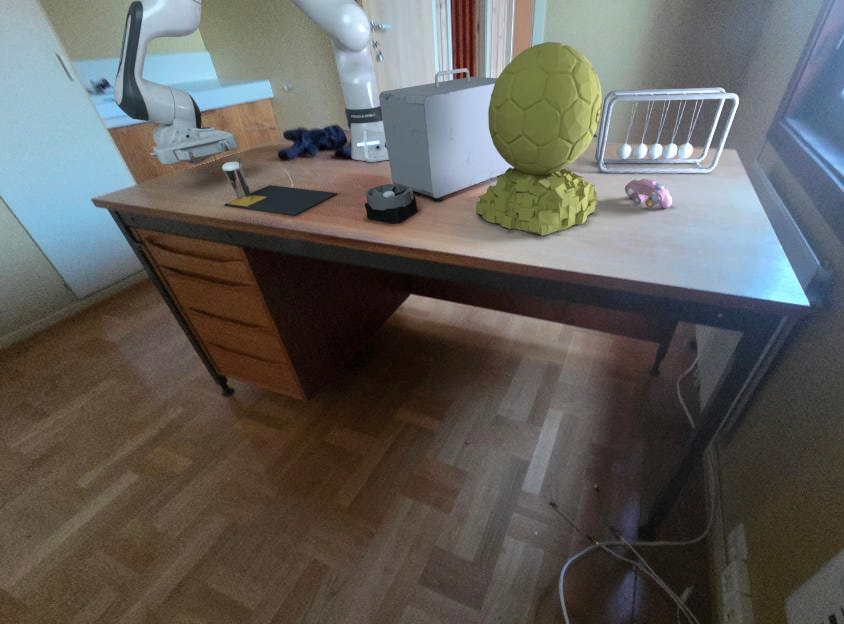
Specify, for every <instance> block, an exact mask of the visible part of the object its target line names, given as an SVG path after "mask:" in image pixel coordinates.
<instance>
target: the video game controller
mask: <svg viewBox="0 0 844 624" xmlns="http://www.w3.org/2000/svg"><path fill="white" fill-rule="evenodd" d="M624 191H625V193H626V194H627V197H628V198H629V199H632V202H633V203H634V204H636V205H641V204H643V202H644V205H645V206H646V207H647V208H649V209H653V208H654V207H655V206H656V205H659V206H660V207H662V208H664V209H669V208H671V206H672V204H673V198H672V196H671V195H670V193H669V190H668V189H667V187H665V185H664V184H662V183H658V182H656V181H655V180H652V179H650V178H642V179H640V178H638V177H635V178H634V179H633V180H631V181H629V182H628V183H626V185H625V186H624ZM645 196H646V197H647V198H646V200H645Z"/></svg>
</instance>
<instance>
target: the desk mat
mask: <svg viewBox="0 0 844 624" xmlns="http://www.w3.org/2000/svg"><path fill="white" fill-rule="evenodd" d="M250 194H251V197H252V199H251V200H250V201H246V202H240V201H239V200H238V199H237V198H236V199H233V200H231V201H229V202H226V203H224V207H231V208H239V209H245V210H251V211H258V212H265V213H273V214H279V215H286V216H292V217H296V216H299V215H300V214H302V213H305V212H306V211H309V210H310V209H313V208H314V207H316V206H318V205H320V204H322V203H323V202H325V201H327V200H329V199H331V198H333V197H335V196H337V195H338V193H337V192H333V191H323V190H316V189H315V190H313V189H307V188H299V187H297V188H296V187H289V186H281V185H273V184H270V185H267V186H265V187H262V188H260V189H257V190H255V191H253V192H250Z"/></svg>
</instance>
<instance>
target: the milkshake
mask: <svg viewBox="0 0 844 624" xmlns="http://www.w3.org/2000/svg"><path fill="white" fill-rule="evenodd" d="M221 169H222V171H223V173H224V175H225V177H226V178H227V181H228V183H229V184H230V186H231V189H232V190H233V193H234V194H235V196H236V199H238V200H239V201H240V202H246V201H250V200H251V199H252V197H251V194H250V193H251V190H250V188H249V185H248V181H247V179H246V175H245V172H244V169H243V165H242V164H241V158H238V162H237V161H228V162H225V163H224V164H223V165H222V167H221Z"/></svg>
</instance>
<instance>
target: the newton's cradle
mask: <svg viewBox="0 0 844 624" xmlns="http://www.w3.org/2000/svg"><path fill="white" fill-rule="evenodd" d="M611 97H613V98H612V99H611ZM610 99H611V100H610ZM728 99H729V100H732V106H731V108H730V111H729V114H728V117H727V119H726V123H725V125H724V129H723V131H722V134H721V136H720V140H719V143H718V145H717V148H716V150H715V154H714V157H713V160H712V162H711V165H709V167H705V168H704V166H702V165H701V164H700V163H701V162H702V161H703V160H704V159H705V158H706V156H707V154H708V152H709V148H710V145H711V143H712V139H713V136H714V133H715V131H716V127H717V124H718V121H719V119H720V116H721V112H722V110H723V106H724V104H725V100H728ZM692 100H696V102H695V106H694V110H693V114H692V119H691V123H690V127H689V131H688V134H687V139H686V142H685V143H682V144H681V145H680V146H679V147H678V146H677V145H676V144H675V143H674V140H675V137H676V134H677V132H678V128H679V126H680V123H681V119H682V117H683V113H684V110H685V106H686V104H687V101H692ZM698 100H702V101H701V104H700V107H699V109H698V111H697V115H696V117H695V121H694V116H695V112H696V109H697V104H698ZM704 100H719V102H718V105H717V108H716V111H715V113H714V117H713V120H712V122H711V126H710V127H709V128H710V129H709V132H708V135H707V137H706V140H705V144H704V147H703V150H702V153H701V155H700V156H699V157H697V158H689V157H690V156H691V155H692V154H693V151H694V148H693V146H692V144H691V143H689V142H690V139H691V136H692V133H693V130H694V127H695V125H696V122H697V119H698V116H699V114H700V110H701V108H702V105H703V102H704ZM652 101H653V102H652ZM655 101H664V104H663V109H662V114H661V119H660V123H659V126H658V127H659V128H658V131H657V132H658V133H657V137H656V142H655V143H652V144H651V145H650V146H649V147H648V146H647V145H646V144H645V143H644V139H645V135H646V132H647V129H648V124H649V121H650V117H651V114H652V110H653V107H654V102H655ZM666 101H668V105H667V107H666V111H665V106H666ZM671 101H680V102H679V107H678V111H677V116H676V121H675V125H674V129H673V134H672V138H671V142H670V143H668V144H666V145H664V147H662V145H661V144H660V143H659V139H660V137H661V133H662V130H663V126H664V122H665V119H666V116H667V112H668V110H669V106H670V103H671ZM682 101H685V102H684V105H683V107H682V111H681V115H680V118H679V114H680V110H681V105H682ZM739 101H740V99H739V96H738V94H736V93H735V92H726V90H725V89H724V88H722V87H718V86H717V87H695V88H694V87H690V88H689V87H687V88H655V89H654V88H653V89H625V90H624V89H623V90H617V89H616V90H612V91H609V92H608V93H607V94H606V96H605V97H604V100H603V103H602V104H603V105H602V110H601V116H600V122H599V123H600V124H599V129H598V130H599V131H598V135H597V142H596V148H595V155H594V156H595V157H594V158H595V160H596V162H597V168H598V170H599V171H600V172H601V173H603V174H707V173H710V172H711V171H713V170H714V169H715V168H716V167H717V164H718V162H719V159H720V156H721V154H722V152H723V149H724V146H725V143H726V139H727V137H728V134H729V132H730V128H731V126H732V122H733V120H734V118H735V114H736V112H737V108H738V107H739V103H740V102H739ZM617 102H633V103H632V107H631V113H630V116H629V117H630V118H629V123H628V129H627V134H626V138H625V143H622V144H621V145H619V146H618V147H617V149H616V157H618V158H604V156H605V152H606V151H605V150H606V147H607V146H606V145H607V139H608V133H609V128H610V123H611V117H612V111H613V106H614V104H616V103H617ZM635 102H636V103H635ZM638 102H648V107H647V111H646V116H645V121H644V127H643V132H642V133H643V134H642V138H641V142H640V143H639V144H637V145H635V146H634V147H633V149H632V147H631V145H629V144H628V139H629V135H630V131H631V128H632V125H633V121H634V116H635V113H636V110H637V106H638ZM651 102H652V104H651V108H650V103H651ZM634 105H635V108H634ZM649 109H650V111H649ZM633 110H634V111H633ZM664 111H665V114H664ZM663 116H664V118H663ZM678 118H679V120H678ZM693 121H694V122H693ZM677 122H678V124H677ZM692 124H693V126H692ZM631 153H632V156H633V158H628V157H629V156H630V155H631ZM646 155H647V157H648V158H645V157H646ZM676 155H677V157H678V158H674V157H675V156H676ZM660 156H662V157H663V158H659V157H660ZM605 164H696V165H697V166H698V167H699V168H697V167H696V168H692V167H691V168H671V167H670V168H668V167H667V168H660V167H659V168H658V167H657V168H653V167H652V168H651V167H650V168H648V167H647V168H639V167H638V168H635V167H634V168H632V167H631V168H629V167H628V168H626V167H625V168H624V167H622V168H621V167H619V168H618V167H617V168H612V167H611V168H606V165H605Z"/></svg>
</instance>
